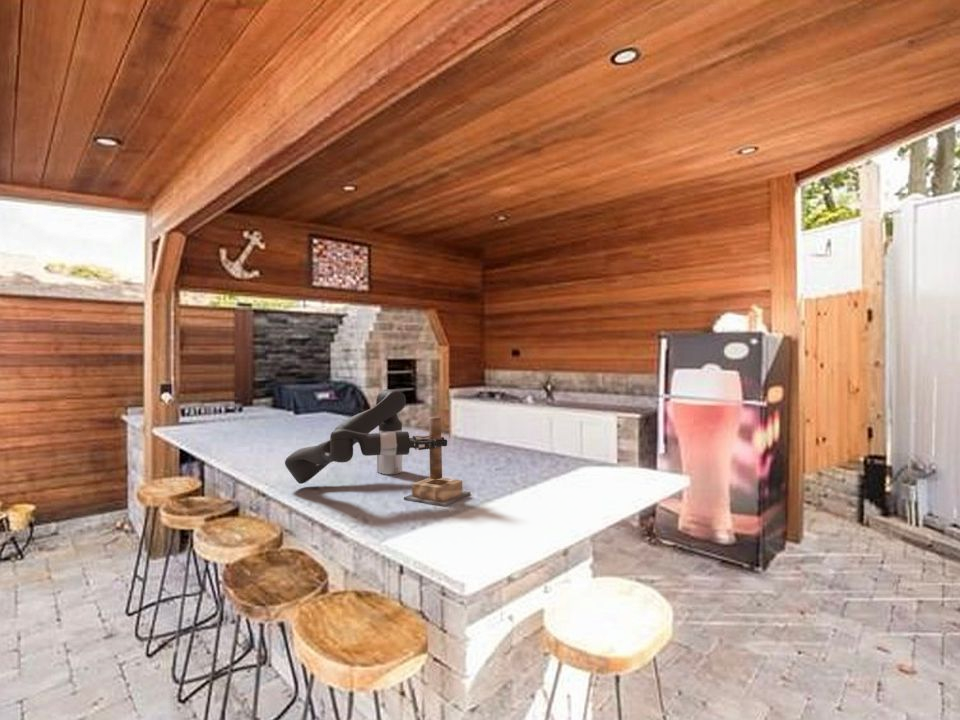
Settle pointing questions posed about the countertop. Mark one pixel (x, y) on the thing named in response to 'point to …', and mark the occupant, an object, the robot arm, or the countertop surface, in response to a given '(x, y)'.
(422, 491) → the socket block
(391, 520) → the countertop surface
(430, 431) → the peg
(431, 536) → the countertop surface
